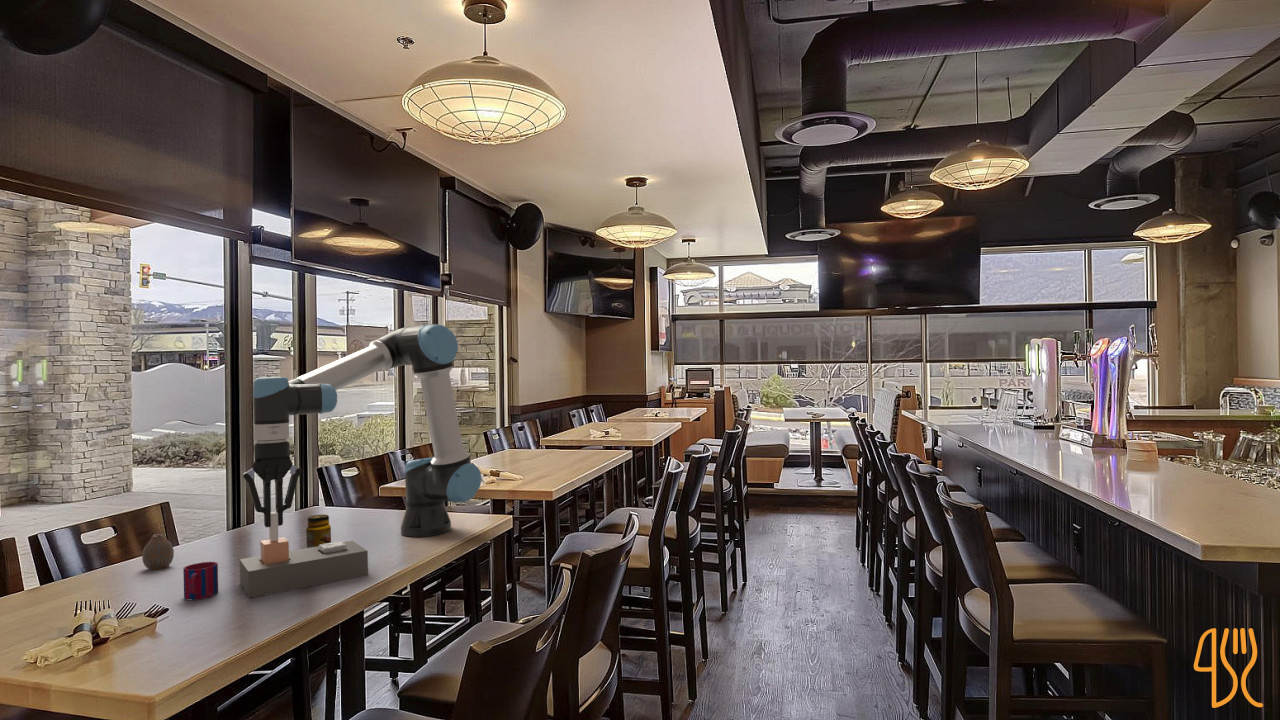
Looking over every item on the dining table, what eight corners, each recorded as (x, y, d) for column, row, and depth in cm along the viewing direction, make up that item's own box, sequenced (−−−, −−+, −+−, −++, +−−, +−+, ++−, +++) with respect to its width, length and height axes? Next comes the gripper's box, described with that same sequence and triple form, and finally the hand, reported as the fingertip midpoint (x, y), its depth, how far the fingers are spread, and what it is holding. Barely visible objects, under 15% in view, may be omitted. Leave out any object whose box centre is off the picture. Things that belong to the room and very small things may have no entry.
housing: (352, 563, 184) (352, 540, 184) (368, 574, 173) (367, 550, 173) (240, 584, 168) (239, 559, 168) (248, 598, 157) (248, 571, 157)
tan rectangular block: (284, 561, 170) (284, 537, 170) (289, 566, 166) (288, 541, 166) (261, 565, 167) (260, 540, 167) (264, 570, 163) (264, 544, 163)
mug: (223, 589, 164) (222, 560, 164) (204, 603, 154) (204, 572, 155) (192, 592, 163) (191, 563, 163) (171, 606, 153) (170, 575, 153)
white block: (341, 564, 178) (340, 541, 178) (346, 568, 174) (346, 544, 174) (319, 568, 175) (319, 544, 175) (324, 572, 171) (323, 548, 171)
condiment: (336, 560, 188) (335, 515, 188) (303, 567, 182) (302, 521, 182) (326, 555, 193) (325, 512, 193) (294, 562, 187) (293, 517, 187)
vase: (136, 571, 183) (135, 537, 183) (159, 564, 190) (159, 531, 190) (157, 572, 181) (156, 538, 181) (180, 564, 188) (179, 532, 188)
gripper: (243, 444, 160) (245, 547, 160) (304, 440, 168) (307, 538, 167) (238, 442, 166) (240, 541, 166) (298, 438, 174) (300, 533, 173)
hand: (273, 539), depth 167 cm, fingers closed
